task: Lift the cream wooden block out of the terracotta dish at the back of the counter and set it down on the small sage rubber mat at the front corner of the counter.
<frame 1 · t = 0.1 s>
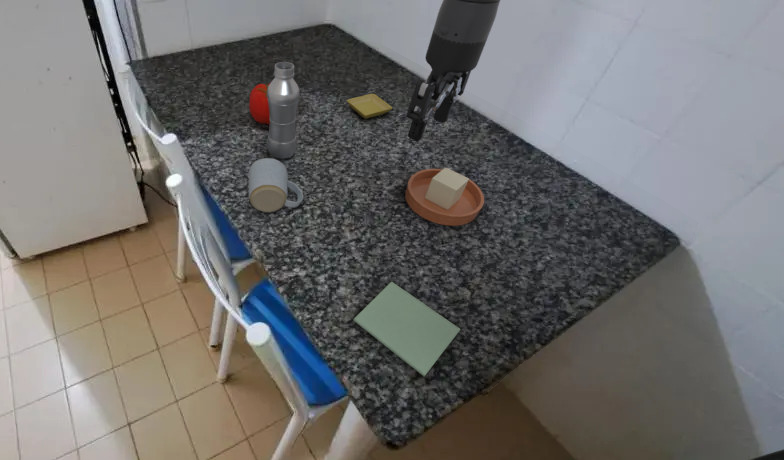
hand: (427, 129, 68), 15 cm above the table, tool pointing down, fingers open, 8 cm apart
ceramic mug: (274, 200, 77), on the table
block: (442, 198, 77), point 1 cm above the table, touching terracotta dish
mat: (405, 325, 58), on the table
tomato: (270, 121, 98), on the table
saucer: (367, 111, 102), on the table
terracotta dish: (441, 200, 78), on the table
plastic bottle: (281, 154, 88), on the table
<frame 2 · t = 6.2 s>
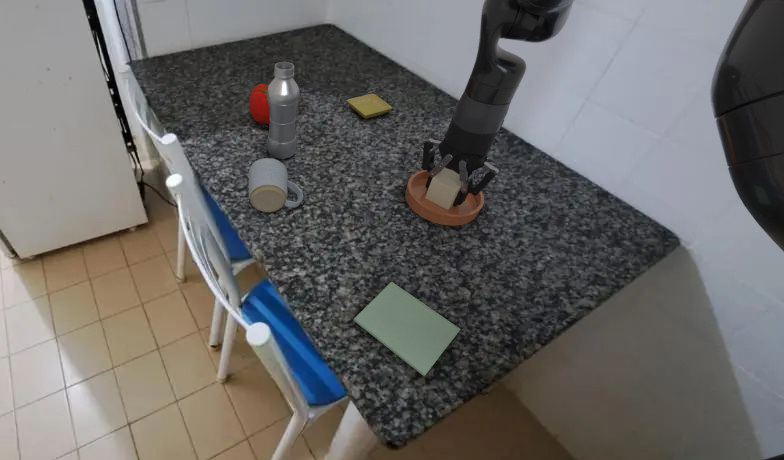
hand: (443, 196, 77), 1 cm above the table, tool pointing down, fingers closed on block, 5 cm apart
block: (442, 198, 77), point 1 cm above the table, touching gripper, terracotta dish
everything else where it was.
when the fingers open (1 cm above the table, at t = 14.9 s): block stays where it is, resting on mat.
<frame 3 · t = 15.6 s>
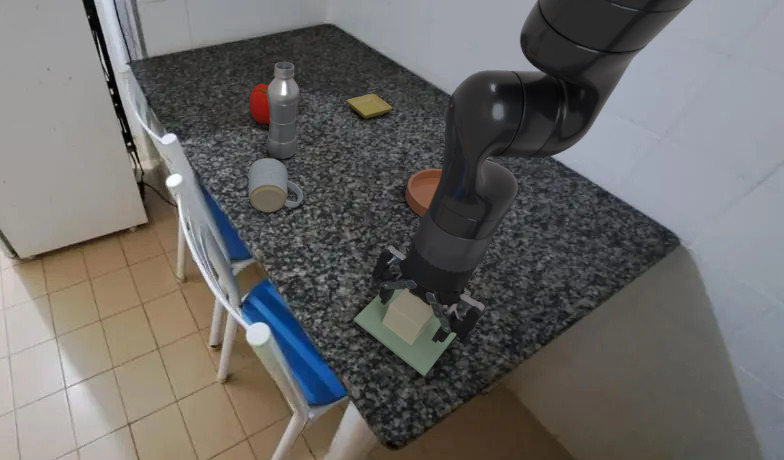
hand: (410, 318, 57), 2 cm above the table, tool pointing down, fingers open, 8 cm apart
block: (405, 323, 58), resting on mat
everything else where it was.
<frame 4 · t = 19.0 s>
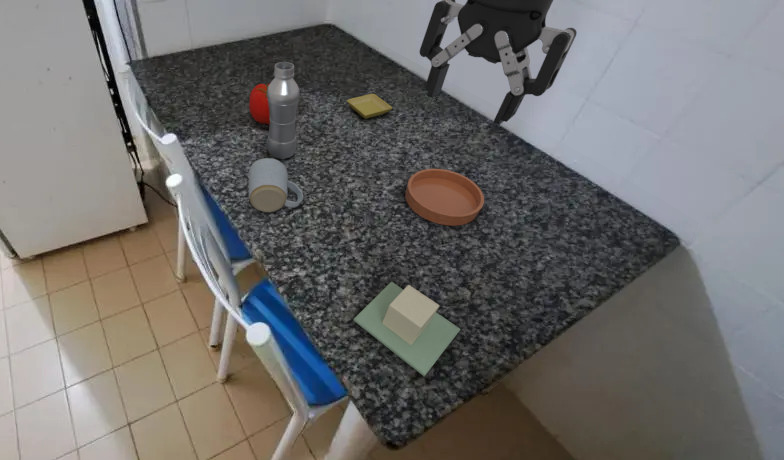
hand: (464, 107, 47), 28 cm above the table, tool pointing down, fingers open, 8 cm apart
nothing on the table moved.
at the end: block inside the target area on the mat (0.2 cm from its centre), point 0.5 cm above the mat's base; block tilted 0°; the gripper is holding nothing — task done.
